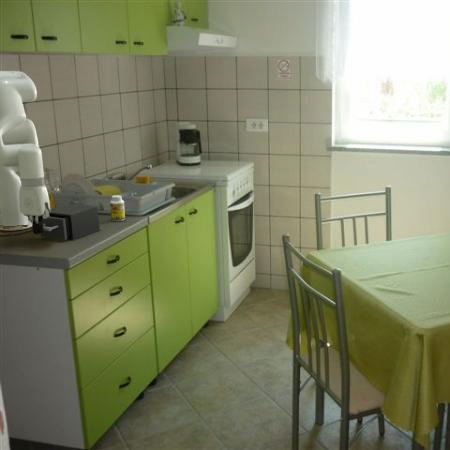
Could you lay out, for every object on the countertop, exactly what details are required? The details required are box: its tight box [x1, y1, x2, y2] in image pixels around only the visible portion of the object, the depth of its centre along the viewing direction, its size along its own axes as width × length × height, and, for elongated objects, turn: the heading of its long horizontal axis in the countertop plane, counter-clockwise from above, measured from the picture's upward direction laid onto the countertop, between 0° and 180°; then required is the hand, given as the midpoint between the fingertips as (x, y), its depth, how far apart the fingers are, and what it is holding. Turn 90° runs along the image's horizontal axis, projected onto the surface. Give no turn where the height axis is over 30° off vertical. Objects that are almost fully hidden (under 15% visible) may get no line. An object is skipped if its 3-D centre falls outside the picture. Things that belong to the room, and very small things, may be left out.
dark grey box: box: [49, 203, 100, 241], centre depth 224 cm, size 15×13×10 cm
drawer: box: [39, 214, 71, 241], centre depth 218 cm, size 18×11×8 cm, turn 159°
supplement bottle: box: [109, 194, 126, 222], centre depth 243 cm, size 6×6×10 cm
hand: (38, 232), depth 208 cm, fingers closed
